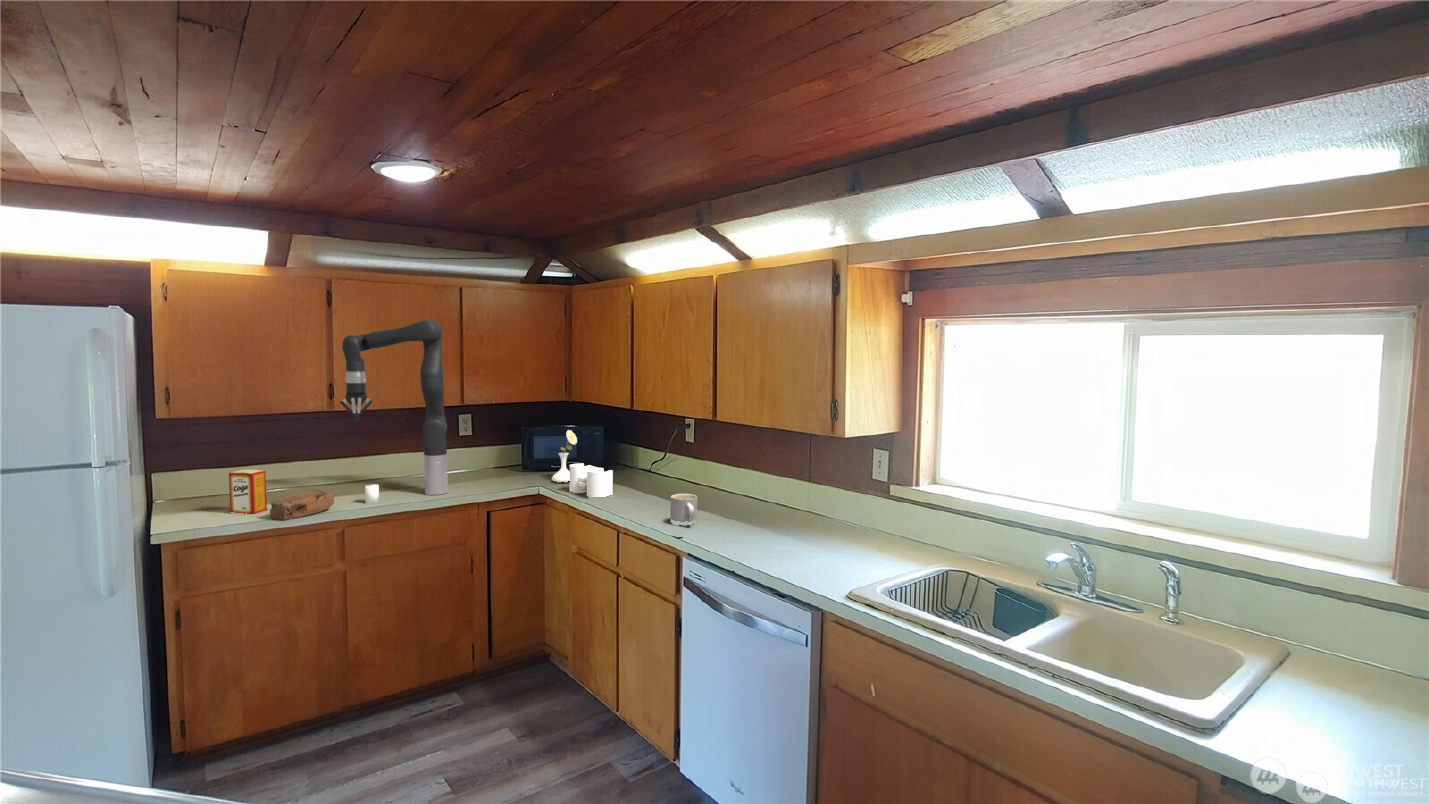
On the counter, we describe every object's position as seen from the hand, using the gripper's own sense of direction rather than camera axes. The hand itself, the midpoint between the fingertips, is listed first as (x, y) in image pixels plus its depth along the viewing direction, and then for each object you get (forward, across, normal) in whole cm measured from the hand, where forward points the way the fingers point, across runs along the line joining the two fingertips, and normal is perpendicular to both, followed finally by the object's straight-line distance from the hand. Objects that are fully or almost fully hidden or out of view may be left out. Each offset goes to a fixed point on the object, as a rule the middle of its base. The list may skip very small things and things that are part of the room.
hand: (356, 421), depth 288 cm
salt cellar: (+31, +5, -22) cm, 38 cm away
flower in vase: (+31, +88, -11) cm, 94 cm away
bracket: (+31, +90, -43) cm, 105 cm away
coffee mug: (+31, +108, -104) cm, 153 cm away
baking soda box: (+31, -37, -21) cm, 53 cm away
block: (+27, -11, -26) cm, 39 cm away
